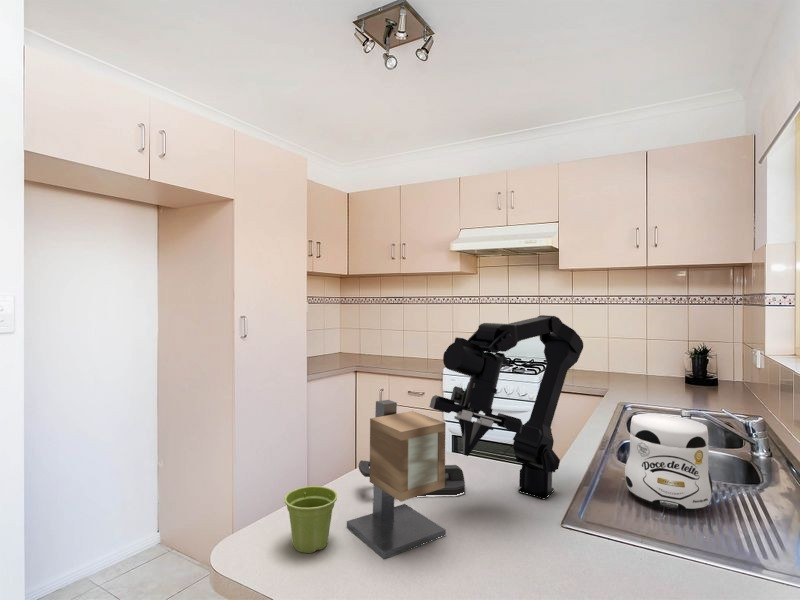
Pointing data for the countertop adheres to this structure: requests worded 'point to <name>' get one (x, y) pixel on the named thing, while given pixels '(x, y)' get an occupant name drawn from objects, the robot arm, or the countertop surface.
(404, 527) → the post stand
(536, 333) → the robot arm
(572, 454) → the countertop surface
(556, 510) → the countertop surface
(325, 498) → the plant pot
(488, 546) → the countertop surface
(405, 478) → the cardboard box
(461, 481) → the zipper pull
